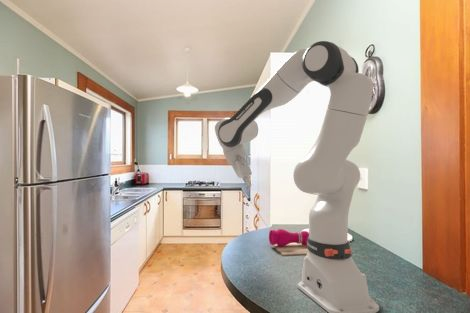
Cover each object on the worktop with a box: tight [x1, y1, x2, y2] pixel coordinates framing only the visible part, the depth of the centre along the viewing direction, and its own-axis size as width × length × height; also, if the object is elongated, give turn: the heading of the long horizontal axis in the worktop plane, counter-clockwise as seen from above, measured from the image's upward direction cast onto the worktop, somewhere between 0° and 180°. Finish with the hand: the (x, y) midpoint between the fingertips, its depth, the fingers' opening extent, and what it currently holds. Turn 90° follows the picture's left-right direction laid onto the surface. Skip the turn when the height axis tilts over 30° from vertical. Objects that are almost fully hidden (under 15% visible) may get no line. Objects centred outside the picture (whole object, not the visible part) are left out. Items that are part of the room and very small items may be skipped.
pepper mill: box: [268, 228, 309, 246], centre depth 113 cm, size 7×7×20 cm
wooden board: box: [272, 243, 308, 257], centre depth 111 cm, size 16×20×1 cm
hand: (249, 186), depth 106 cm, fingers closed
